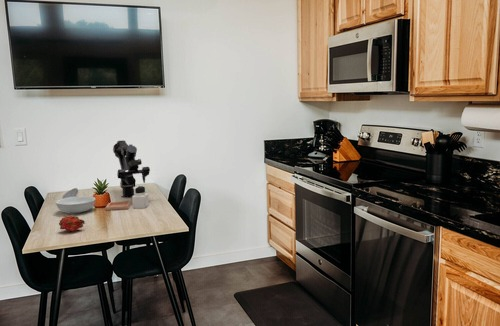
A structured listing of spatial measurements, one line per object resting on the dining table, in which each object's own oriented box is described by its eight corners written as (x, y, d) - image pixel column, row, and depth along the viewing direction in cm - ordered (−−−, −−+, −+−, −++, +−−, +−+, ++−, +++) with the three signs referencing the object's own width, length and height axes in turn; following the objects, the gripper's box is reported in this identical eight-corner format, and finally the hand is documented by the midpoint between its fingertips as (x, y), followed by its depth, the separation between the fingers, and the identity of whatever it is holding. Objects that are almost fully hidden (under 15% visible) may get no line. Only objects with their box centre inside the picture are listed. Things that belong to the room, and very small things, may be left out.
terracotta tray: (105, 210, 243) (105, 207, 243) (109, 205, 255) (109, 202, 255) (128, 209, 245) (127, 206, 245) (130, 204, 257) (130, 201, 257)
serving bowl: (80, 217, 231) (79, 205, 230) (48, 215, 237) (47, 203, 236) (103, 207, 251) (102, 196, 250) (74, 206, 257) (73, 195, 256)
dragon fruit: (58, 234, 207) (84, 236, 209) (55, 228, 199) (82, 230, 202) (61, 218, 211) (87, 219, 213) (58, 211, 203) (85, 213, 206)
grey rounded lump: (79, 209, 267) (79, 197, 262) (61, 209, 264) (61, 197, 258) (79, 198, 276) (80, 185, 271) (62, 198, 272) (62, 185, 267)
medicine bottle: (148, 205, 254) (147, 185, 252) (144, 208, 246) (143, 188, 245) (137, 205, 254) (135, 185, 252) (132, 208, 247) (131, 188, 245)
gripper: (116, 156, 252) (122, 177, 244) (148, 153, 260) (154, 173, 252) (115, 167, 260) (120, 188, 252) (145, 164, 269) (151, 184, 260)
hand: (136, 183), depth 254 cm, fingers open, 9 cm apart
